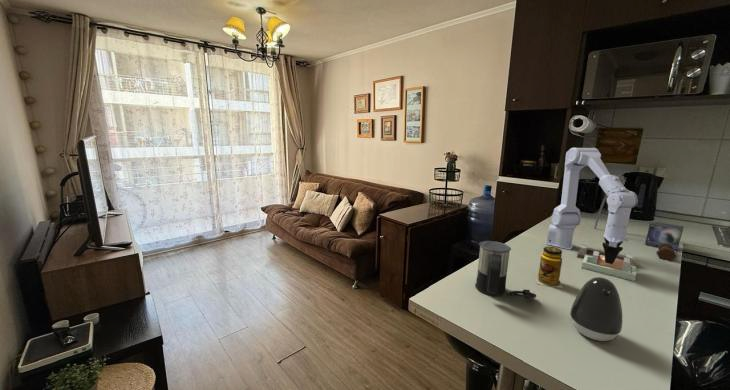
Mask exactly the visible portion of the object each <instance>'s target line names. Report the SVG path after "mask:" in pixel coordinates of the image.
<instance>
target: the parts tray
mask: <svg viewBox="0 0 730 390" xmlns="http://www.w3.org/2000/svg"><path fill="white" fill-rule="evenodd" d="M591 262H592V256H587V255H585V257H584V259H582V264H581V269H583V270H584V269H585V270H587V271H592V272H596V273H600V274H604V275H608V276H611V277H614V278H618V279H623V280H628V281H632V282H636V278H637V277H636V276H637V266H634V265H633V266H631V265H629V269H628V272H625V271H621V270H617V269H613V268H609V267H604V266H600V265H596V264H592V263H591Z"/></svg>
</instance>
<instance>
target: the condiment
mask: <svg viewBox="0 0 730 390" xmlns="http://www.w3.org/2000/svg"><path fill="white" fill-rule="evenodd" d="M562 254H563V250H562V248H561V249H560V247H556V246H550V245H548V246H544V247H543V251H542V254H541V255H540V262H539V269H538V273H535V272H534V273H533V274H534V277H535V280H536V283H537V285H541V286H545V287H551V288H559V289H564V286H563V285H562V283H561V281H560V276H561V270H562V265H563V264H562V263H563V258H562Z"/></svg>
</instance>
